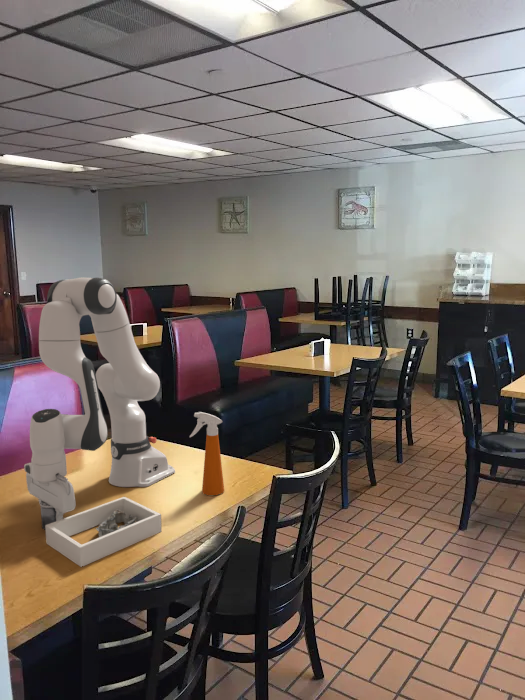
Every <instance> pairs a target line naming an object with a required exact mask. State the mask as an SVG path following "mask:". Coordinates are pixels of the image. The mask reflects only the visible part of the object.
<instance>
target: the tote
mask: <svg viewBox="0 0 525 700" xmlns="http://www.w3.org/2000/svg"><path fill="white" fill-rule="evenodd" d="M117 509H119V511H122V512H124V513H125V514H126V516H128V517H129V515H131V516H136V517H137V518H136V519H135V520H136V523H133V524H131V525H128V526H126V527H124V528H121V529H119V530H116V531H114V532H111V533H109V534H107V535H104V536H102V537H99V536H98V537H97V538H94V539H92V540H89V541H87V542H85V543H82V544H81V543H80V542H78V541H76V540H75V539H73V538H72V536H75V535H77V534H79V533H82V532H84V531H87V530H89V529H92V528H94V527H97V526H100V524H101V523H103V522H104V521H105V520H106V519H107V518H109V517H110V516H111V514H112V513H113V512H114V511H115V510H117ZM45 529H46V530H45V539H46V540H45V541H46V542H45V543H46V545H48V546H50V547H51V548H52V549H54V550H55V551H57V552H58V553H60V554H61V555H63V556H64V557H66V559H69V560H70V561H72V562H73V563H74V564H76V565H78V566H79V567H80V568H83V567H85V566H87V565H89V564H91V563H93V562H94V563H95V561H98V560H101V559H103V558H105V557H107V556H109V555H112V554H114V553H116V552H119V551H120V550H123V549H125V548H128V547H130V546H132V545H134V544H136V543H140V541H144V540H145V539H148V538H150V537H152V536H154V535H156V534H159V533H161V532H162V514H161V513H159V512H157V511H155V510H153V509H152V508H149V507H148V506H145V505H143V504H142V503H141V504H140V503H138V502H137V501H135V500H133V499H131V498H129V497H126V496H122V497H119V498H116V499H113V500H111V501H108V502H105V503H103V504H100V505H97V506H94V507H91V508H89V509H86V510H84V511H81V512H78V513H76V514H73V515H70V516H67V517H63V519H61V520H58V521H56V522H53V523H50V524H47V525H45ZM82 566H83V567H82Z"/></svg>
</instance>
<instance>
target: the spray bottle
mask: <svg viewBox="0 0 525 700" xmlns="http://www.w3.org/2000/svg"><path fill="white" fill-rule="evenodd" d="M193 417H194V418H197V420H196V421H197V422H196V423H197V424H196V426H195V427H194V429H193V431H192V432H191V434H190V435H189V438H192V437H194V436H195V435H196V434H197V433H198V432H199V431H200V430H201V429H202V428H203V426H205V425H207V427H206V439H205V440H206V441H205V451H204V462H203V465H204V466H203V476H202V487H201V492H202V494H204V495H205V494H206V495H205V496H209V495H216V496H219V495H218V494H220V495H222V494H223V493H224V492H225V485H224V483H225V482H224V475H223V474H224V473H223V466H222V457H221V456H222V455H221V449H220V448H221V447H220V440H219V428H218V425H220V424H222V423H223V420H222V419H220V418H219V417H217V416H216V415H213V414H210V413H206V412H202V411H198V412H194V414H193ZM221 493H222V494H221Z"/></svg>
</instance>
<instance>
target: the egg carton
mask: <svg viewBox="0 0 525 700" xmlns="http://www.w3.org/2000/svg"><path fill="white" fill-rule="evenodd" d="M136 518H137V517H136V516H131V515H129V517H128V516H126V514H125V513H124V512H122V511H119V509H117V510H115V511H114V512H113V513H112V514H111V516H110V517H109V518H107V519H106V520H105V521H104V522H103V523H101V524H100V525H98V527H96V528H95V530H97V531H98V538H99V537H102V536H104V535H107V534H109V533H111V532H114V531H116V530H119V529H121V528H124V527H126V526H128V525H131V524H133V523H136V522H137V521H136V520H135V519H136ZM119 523H123V525H119V526H118V524H119Z"/></svg>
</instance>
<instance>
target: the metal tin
mask: <svg viewBox="0 0 525 700" xmlns="http://www.w3.org/2000/svg"><path fill="white" fill-rule="evenodd" d="M39 506H40V507H39V508H40V515H41V516H40V517H41V528H42V530H43V529H44V530H43V531H46V529H45V525H47V524H50V523H53V522H56V521H55V520H54V519H55V518H54V516H55V515H56V512H57V511H55V508H53V507H52V506H50V505H48V504H47V503H45V502H43V501H41V502H40V503H39Z"/></svg>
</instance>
